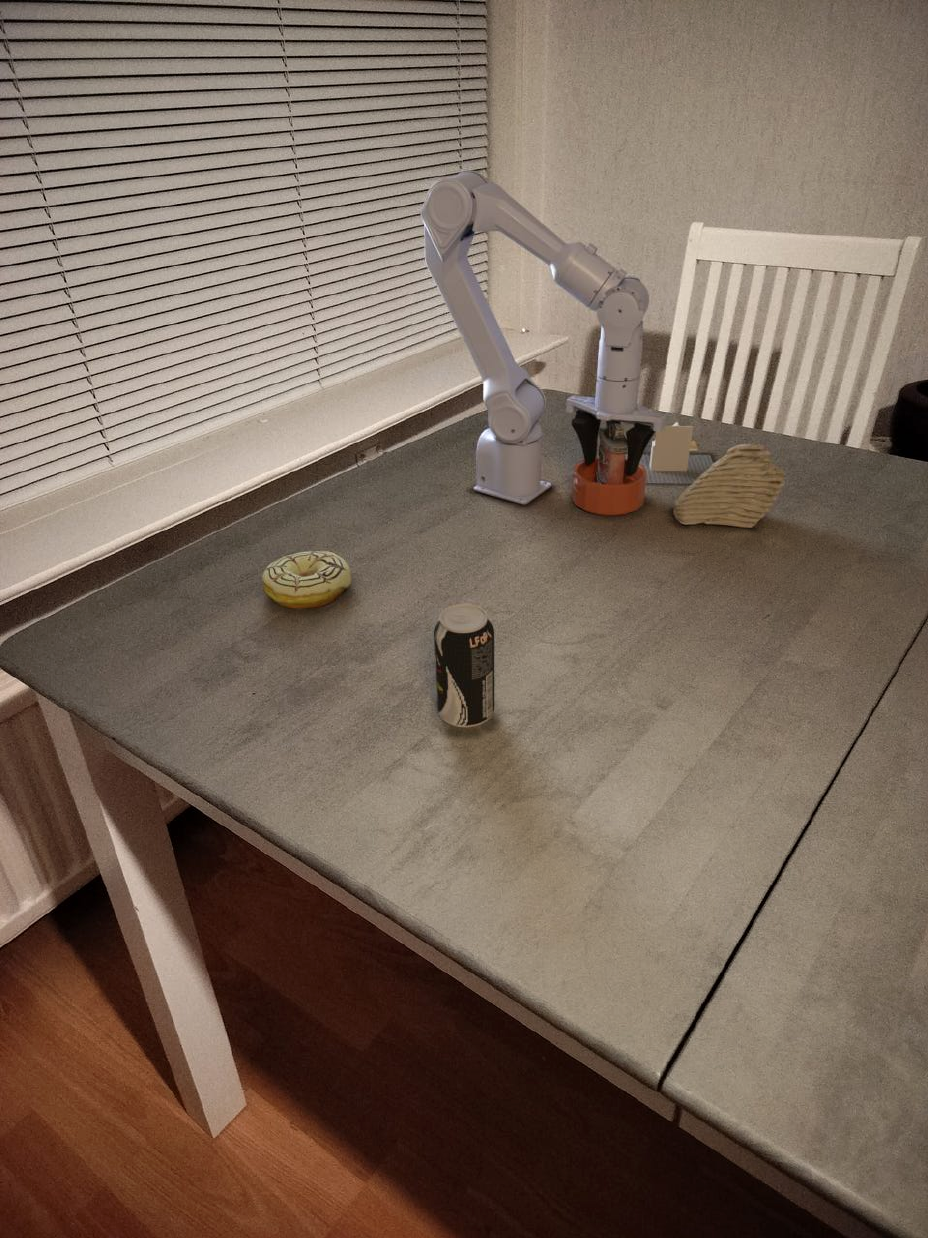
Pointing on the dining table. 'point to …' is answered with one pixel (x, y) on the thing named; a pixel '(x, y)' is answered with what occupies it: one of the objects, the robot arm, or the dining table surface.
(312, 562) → the decorated donut
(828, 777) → the dining table surface
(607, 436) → the lighter
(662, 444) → the architectural model
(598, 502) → the bowl
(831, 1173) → the dining table surface
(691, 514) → the fossil tooth
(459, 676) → the beverage can
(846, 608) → the dining table surface
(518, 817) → the dining table surface
